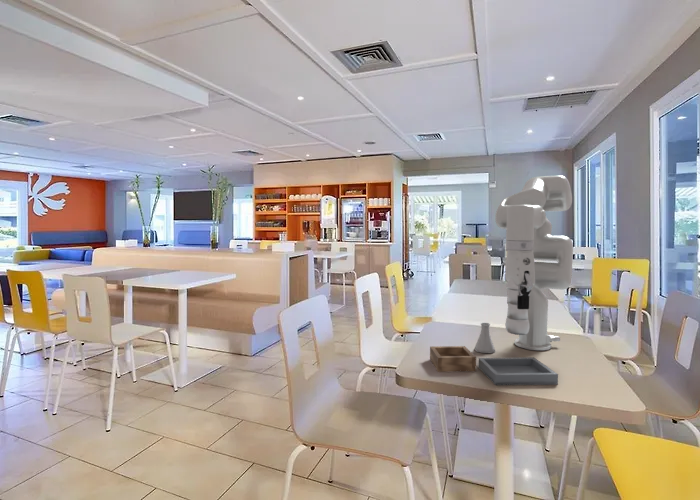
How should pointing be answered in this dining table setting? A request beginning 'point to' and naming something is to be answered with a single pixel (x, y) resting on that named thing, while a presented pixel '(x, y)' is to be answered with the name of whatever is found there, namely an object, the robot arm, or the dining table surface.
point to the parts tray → (517, 371)
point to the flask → (485, 340)
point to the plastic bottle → (515, 311)
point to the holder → (452, 359)
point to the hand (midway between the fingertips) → (517, 306)
